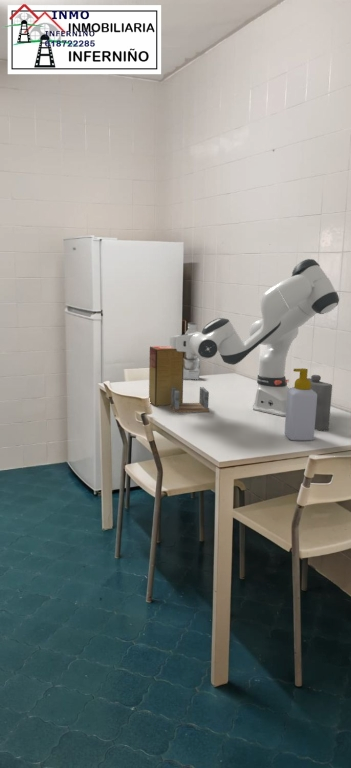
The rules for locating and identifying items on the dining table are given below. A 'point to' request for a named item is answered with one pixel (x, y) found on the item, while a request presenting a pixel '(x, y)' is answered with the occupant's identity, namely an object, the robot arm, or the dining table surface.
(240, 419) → the dining table surface
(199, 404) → the bookend shelf
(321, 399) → the flask
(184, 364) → the plastic bottle
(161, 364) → the food packaging
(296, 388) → the soap bottle
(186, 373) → the light bulb box
